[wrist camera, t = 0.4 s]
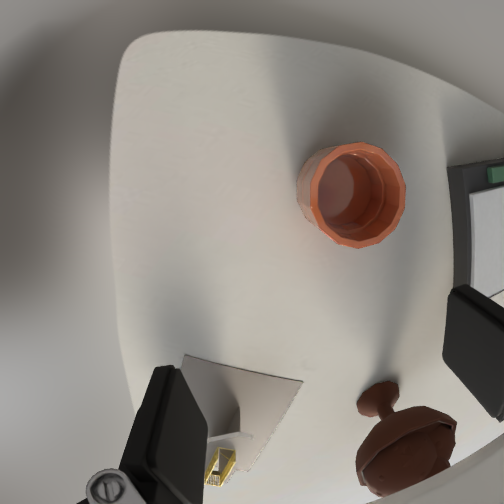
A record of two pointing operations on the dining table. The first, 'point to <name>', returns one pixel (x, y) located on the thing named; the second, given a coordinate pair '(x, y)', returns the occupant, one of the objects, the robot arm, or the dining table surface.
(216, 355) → the dining table surface
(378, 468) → the ice cream bowl
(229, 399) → the platform
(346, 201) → the dip bowl
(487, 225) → the scale
